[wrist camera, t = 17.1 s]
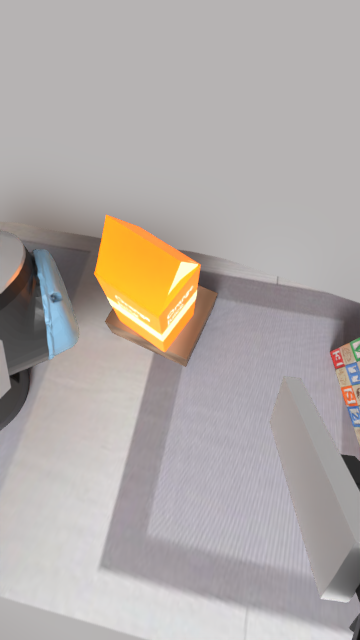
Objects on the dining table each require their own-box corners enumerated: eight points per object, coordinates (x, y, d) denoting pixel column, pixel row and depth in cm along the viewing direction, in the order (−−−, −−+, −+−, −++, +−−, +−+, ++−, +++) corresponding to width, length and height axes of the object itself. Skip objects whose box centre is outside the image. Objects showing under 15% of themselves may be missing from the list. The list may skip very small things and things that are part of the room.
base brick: (113, 333, 49) (104, 321, 43) (144, 278, 53) (141, 261, 47) (185, 367, 47) (187, 359, 41) (213, 307, 51) (217, 293, 45)
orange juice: (164, 353, 42) (154, 294, 23) (118, 320, 43) (74, 241, 25) (194, 314, 44) (207, 231, 25) (150, 284, 46) (131, 186, 27)
